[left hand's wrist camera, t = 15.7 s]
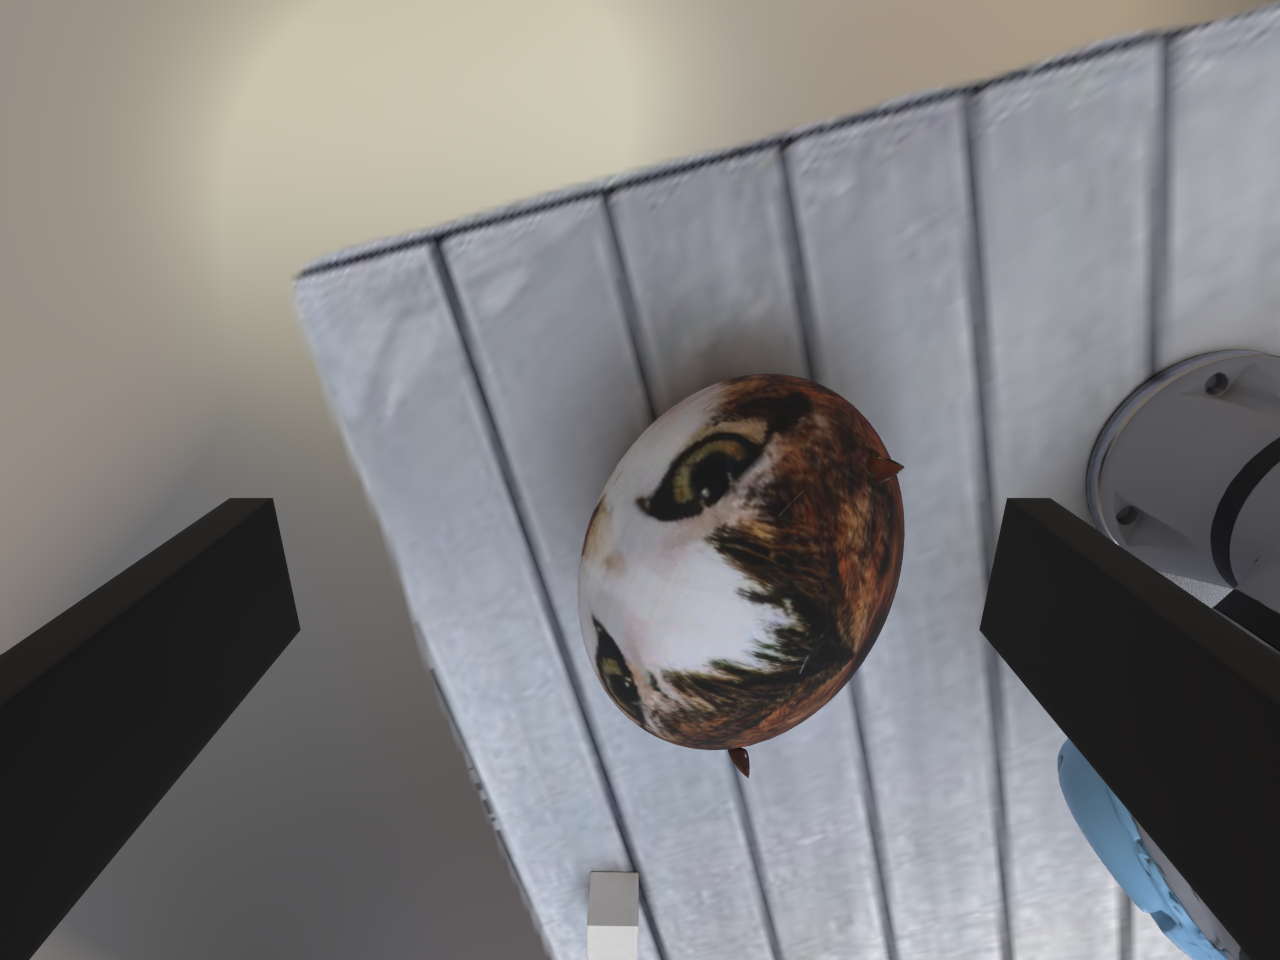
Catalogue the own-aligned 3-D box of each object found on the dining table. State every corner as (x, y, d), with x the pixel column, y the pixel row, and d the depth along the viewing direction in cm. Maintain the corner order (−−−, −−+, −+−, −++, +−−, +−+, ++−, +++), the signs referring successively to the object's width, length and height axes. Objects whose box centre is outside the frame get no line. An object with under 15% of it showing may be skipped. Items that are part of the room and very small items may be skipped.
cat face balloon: (562, 285, 37) (866, 439, 24) (758, 340, 49) (1029, 462, 36) (458, 623, 44) (651, 884, 31) (653, 597, 56) (849, 776, 43)
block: (590, 871, 60) (586, 925, 56) (638, 872, 60) (638, 926, 56) (591, 905, 62) (587, 961, 57) (637, 906, 62) (637, 962, 57)
